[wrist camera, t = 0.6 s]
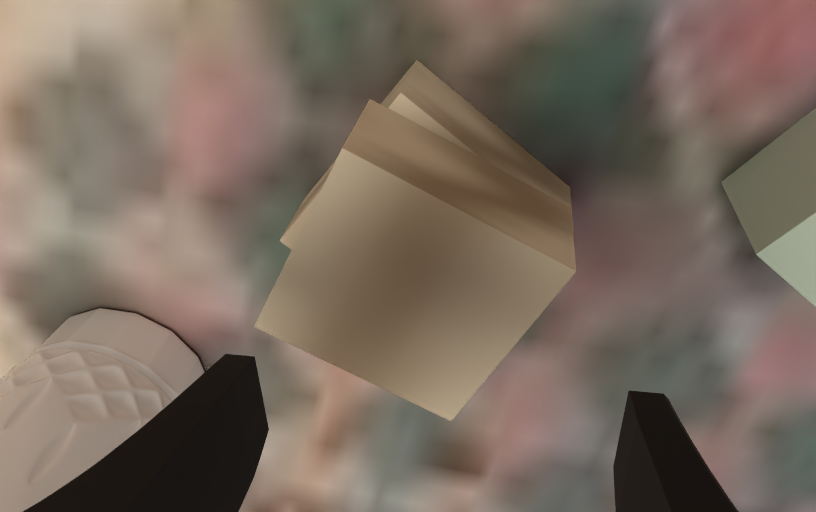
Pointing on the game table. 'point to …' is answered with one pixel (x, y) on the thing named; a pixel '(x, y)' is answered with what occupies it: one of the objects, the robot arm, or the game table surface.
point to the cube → (781, 204)
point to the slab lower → (450, 138)
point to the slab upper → (419, 264)
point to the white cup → (84, 399)
